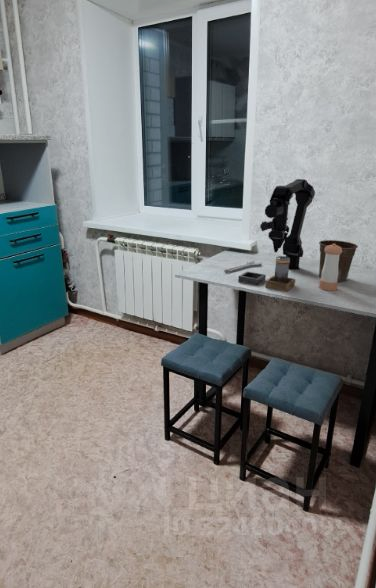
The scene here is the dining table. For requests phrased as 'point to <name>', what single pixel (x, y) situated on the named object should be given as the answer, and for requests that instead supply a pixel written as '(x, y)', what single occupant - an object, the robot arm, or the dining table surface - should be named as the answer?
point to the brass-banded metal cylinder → (281, 269)
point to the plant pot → (344, 257)
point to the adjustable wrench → (243, 267)
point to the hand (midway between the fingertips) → (277, 250)
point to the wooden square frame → (280, 284)
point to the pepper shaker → (330, 268)
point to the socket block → (252, 278)
